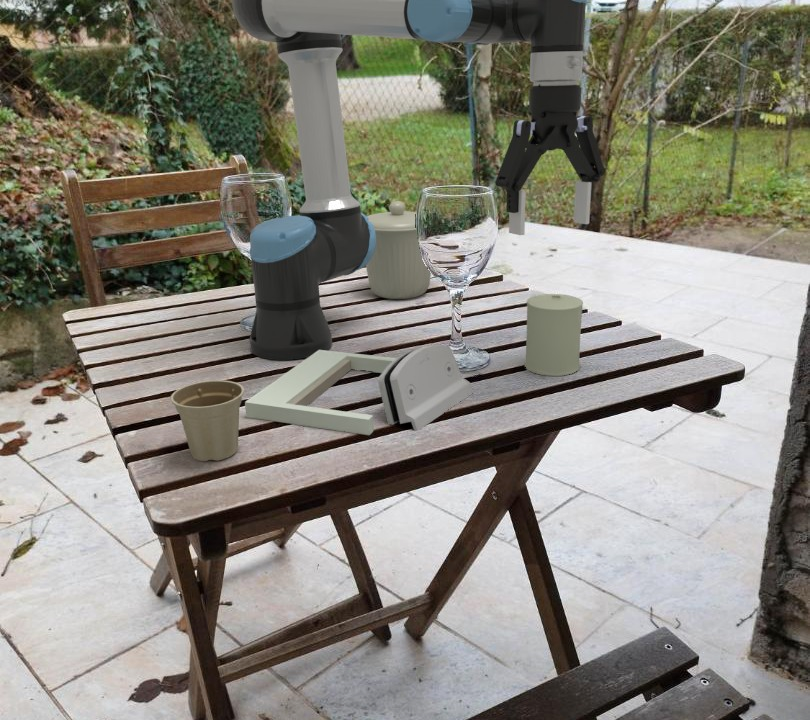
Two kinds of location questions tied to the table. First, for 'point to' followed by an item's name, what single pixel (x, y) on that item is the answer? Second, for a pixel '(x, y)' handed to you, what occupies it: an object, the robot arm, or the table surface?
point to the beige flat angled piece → (315, 392)
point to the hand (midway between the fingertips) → (549, 228)
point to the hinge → (422, 385)
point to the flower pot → (210, 417)
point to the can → (553, 334)
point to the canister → (396, 256)
